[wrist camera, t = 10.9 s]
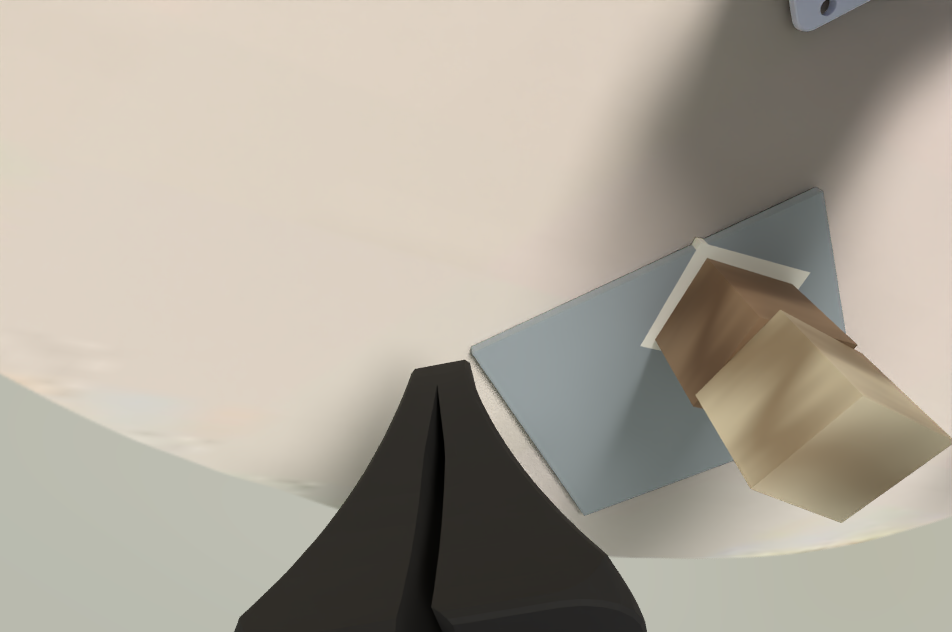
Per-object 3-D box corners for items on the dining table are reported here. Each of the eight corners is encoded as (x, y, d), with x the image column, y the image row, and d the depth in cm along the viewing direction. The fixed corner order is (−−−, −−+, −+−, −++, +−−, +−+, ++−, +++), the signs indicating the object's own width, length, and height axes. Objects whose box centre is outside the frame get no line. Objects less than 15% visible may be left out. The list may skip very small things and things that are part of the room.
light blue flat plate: (814, 181, 22) (822, 186, 22) (852, 407, 30) (858, 414, 29) (468, 343, 26) (469, 349, 25) (582, 508, 33) (584, 515, 33)
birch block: (780, 309, 19) (863, 395, 16) (861, 353, 21) (955, 441, 17) (695, 394, 21) (750, 489, 18) (774, 429, 23) (841, 523, 19)
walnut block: (707, 257, 23) (759, 317, 20) (792, 284, 24) (857, 344, 21) (655, 339, 26) (693, 406, 22) (734, 360, 27) (784, 427, 23)
